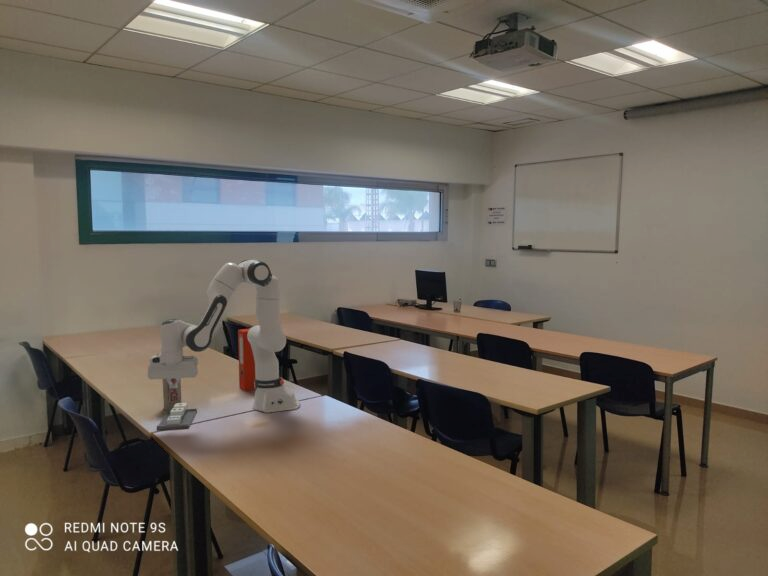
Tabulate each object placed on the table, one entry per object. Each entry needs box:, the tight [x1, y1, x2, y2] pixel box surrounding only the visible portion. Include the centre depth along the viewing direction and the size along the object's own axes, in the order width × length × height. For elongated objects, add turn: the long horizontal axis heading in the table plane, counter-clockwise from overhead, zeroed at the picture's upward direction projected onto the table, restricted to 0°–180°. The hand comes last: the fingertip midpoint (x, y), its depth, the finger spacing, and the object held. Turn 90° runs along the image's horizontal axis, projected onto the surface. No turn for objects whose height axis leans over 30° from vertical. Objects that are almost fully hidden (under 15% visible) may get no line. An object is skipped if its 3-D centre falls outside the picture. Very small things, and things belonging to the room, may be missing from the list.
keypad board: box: [156, 407, 198, 431], centre depth 239 cm, size 13×21×2 cm, turn 10°
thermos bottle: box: [162, 378, 182, 411], centre depth 255 cm, size 8×8×28 cm
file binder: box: [237, 327, 256, 392], centre depth 290 cm, size 8×17×32 cm, turn 126°
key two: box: [170, 408, 185, 416], centre depth 239 cm, size 5×5×2 cm
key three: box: [167, 415, 182, 425], centre depth 232 cm, size 5×5×2 cm
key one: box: [174, 402, 188, 411], centre depth 246 cm, size 5×5×2 cm
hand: (173, 388), depth 231 cm, fingers closed
